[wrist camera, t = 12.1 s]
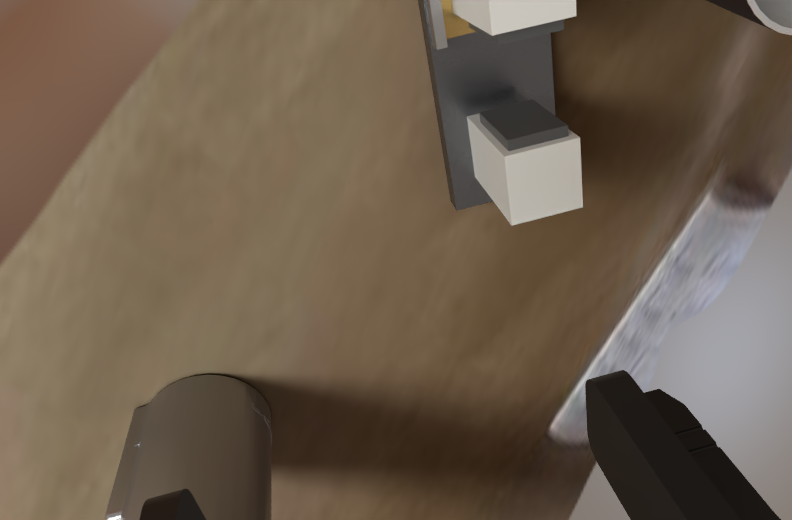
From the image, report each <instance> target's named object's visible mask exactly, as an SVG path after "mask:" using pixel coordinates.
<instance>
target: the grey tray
mask: <svg viewBox="0 0 792 520" xmlns="http://www.w3.org/2000/svg"><path fill="white" fill-rule="evenodd" d="M418 2H419V8H420V15H421V21H422V27H423V33H424V39H425V45H426V51H427V58H428V64H429V70H430V76H431V82H432V88H433V94H434V100H435V107H436V113H437V119H438V125H439V131H440V137H441V143H442V150H443V156H444V162H445V168H446V174H447V180H448V186H449V192H450V199H451V202H452V204H453V205H454V207H455V209H456V210H461V209H464V208H468V207H472V206H476V205H480V204H484V203H488V202H492V201H493V200H492V199H491V197H490V196H489V195H488V193H487V192H486V191H485V189H484V188H483V187H482V185H481V184H480V183H479V181H478V180H477V179H476V178H475V173H474V166H473V158H472V151H471V144H470V137H469V129H468V122H467V116H471V115H475V114H479V112H482V111H487V110H491V109H495V108H499V107H503V106H507V105H511V104H515V103H519V102H523V101H527V100H531V99H533V100H534V101H536V102H537V103H538V104H540V105H541V106H543V107H544V108H545V109H547V110H548V111H549V112H551V113H552V114H553V115H555V98H554V82H553V65H552V48H551V33H548V34H544V35H540V36H536V37H531V38H527V39H523V40H518V41H514V42H510V43H506V44H501V45H497V44H496V43H494V42H492V41H491V40H489V39H487V38H486V37H484V36H482V35H481V34H479V33H477V32H476V31H474V30H472V29H471V28H469V24H468V21H466V20H464V19H462V18H461V17H459V16H457V15H455V14H454V13H453V8H452V0H418ZM555 116H556V115H555Z"/></svg>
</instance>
